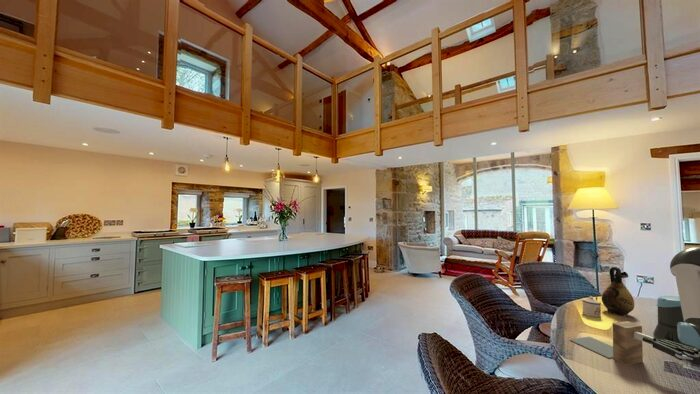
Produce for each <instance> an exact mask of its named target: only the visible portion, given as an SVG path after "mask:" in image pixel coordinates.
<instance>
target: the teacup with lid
mask: <svg viewBox="0 0 700 394" xmlns="http://www.w3.org/2000/svg"><path fill="white" fill-rule="evenodd" d="M581 301H582V313H583V315H585V316H588V317H591V318H601V315H602V314H601V313H602V312H601V309H602V308H601V305H602V303H601V302H602V301H599V300H597V299H596V298H594V297H593V296H588V297H585V298H584V297H583V298H582V299H581Z"/></svg>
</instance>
